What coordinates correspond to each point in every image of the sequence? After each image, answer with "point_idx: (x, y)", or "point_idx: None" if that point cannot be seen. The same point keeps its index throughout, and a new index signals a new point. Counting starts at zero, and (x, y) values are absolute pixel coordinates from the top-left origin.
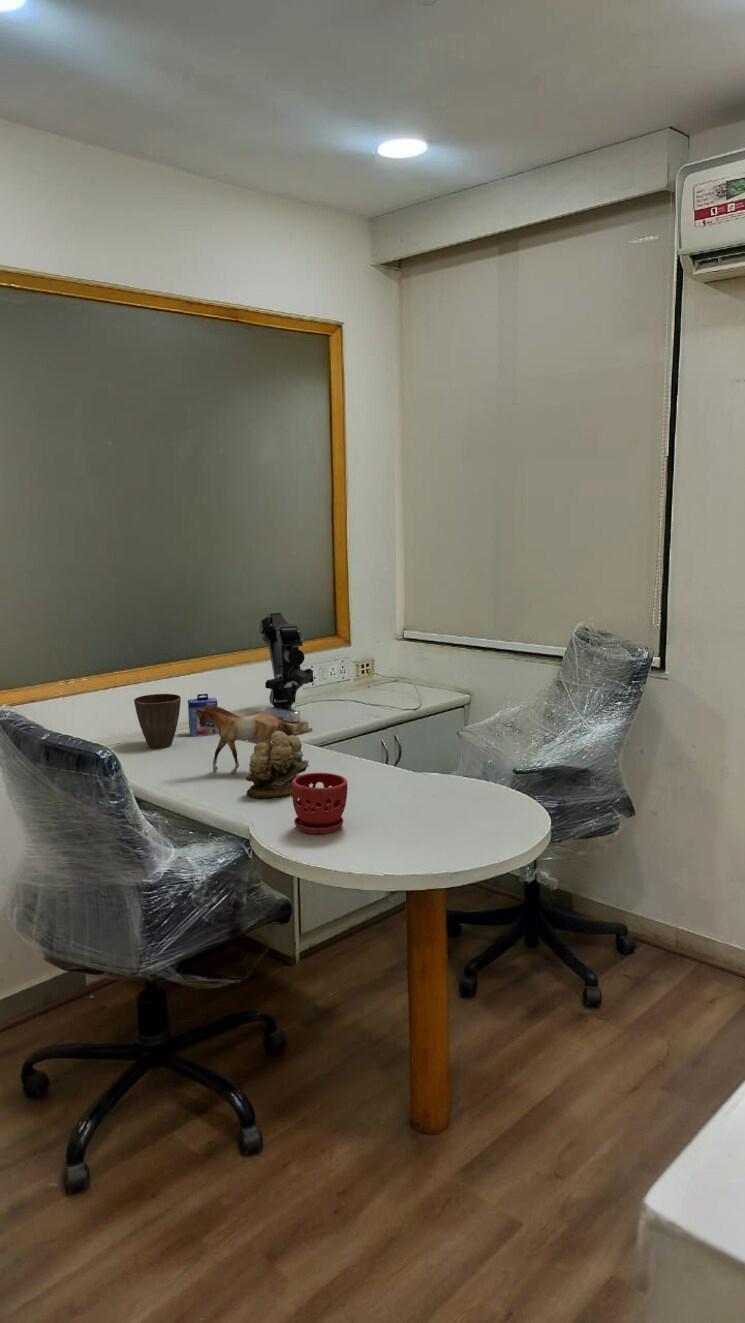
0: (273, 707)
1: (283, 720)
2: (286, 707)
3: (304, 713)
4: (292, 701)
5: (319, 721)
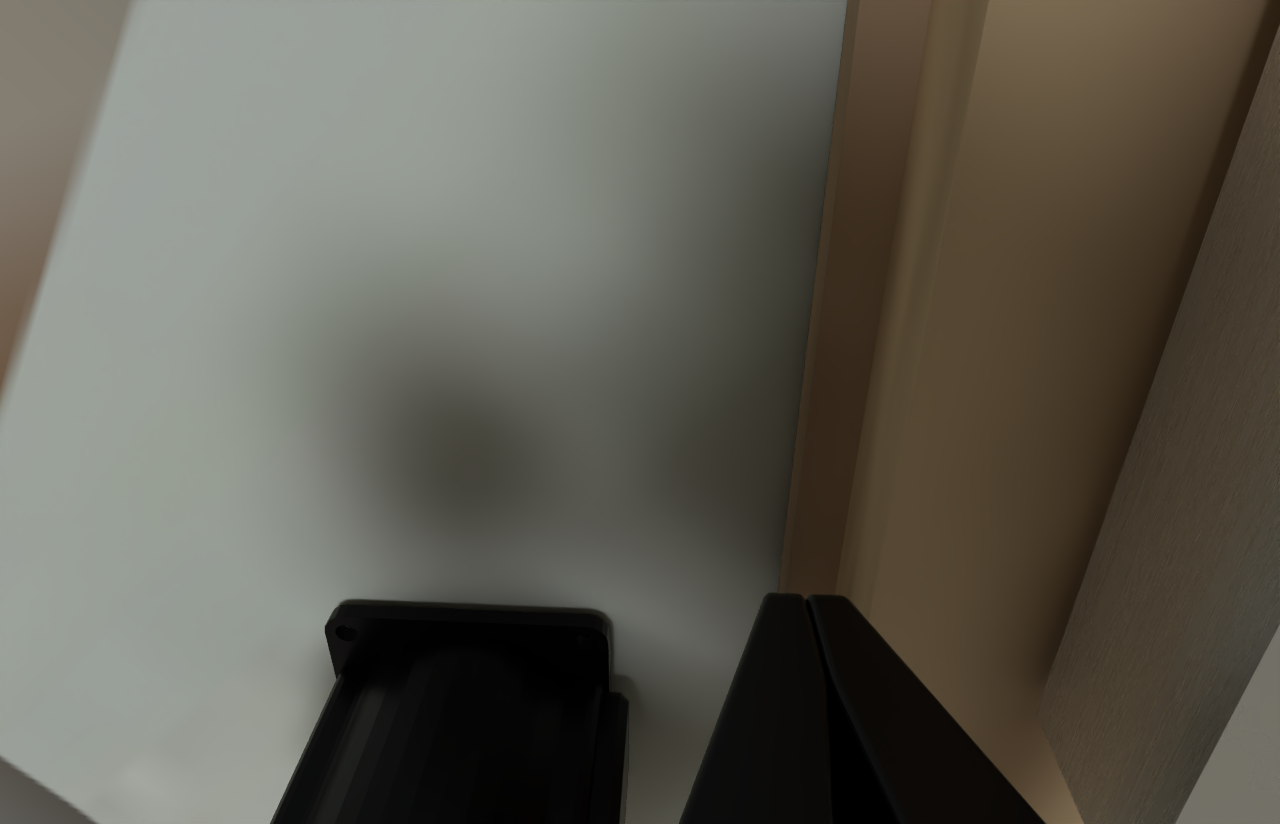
0: (1253, 793)
1: None
2: (447, 813)
3: (27, 699)
4: (800, 664)
5: (100, 150)
